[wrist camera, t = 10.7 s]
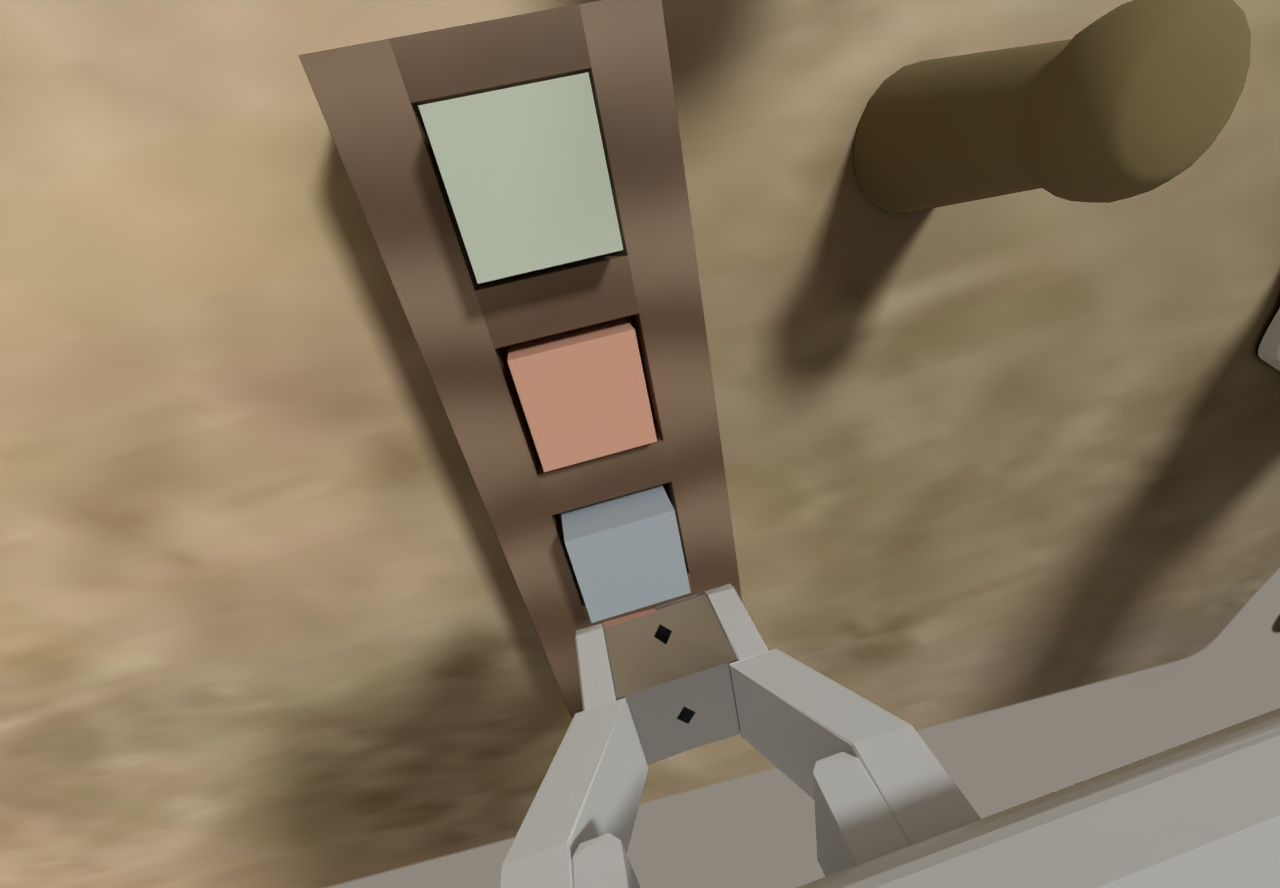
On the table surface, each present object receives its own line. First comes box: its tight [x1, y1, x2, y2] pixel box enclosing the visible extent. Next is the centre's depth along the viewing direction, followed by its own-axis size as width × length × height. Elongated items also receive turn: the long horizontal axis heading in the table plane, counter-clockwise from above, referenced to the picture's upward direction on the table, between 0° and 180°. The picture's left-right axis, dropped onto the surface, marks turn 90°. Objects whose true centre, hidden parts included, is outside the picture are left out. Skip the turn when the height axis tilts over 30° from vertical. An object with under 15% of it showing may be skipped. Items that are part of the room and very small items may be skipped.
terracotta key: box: [507, 317, 657, 472], centre depth 21 cm, size 5×5×2 cm
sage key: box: [418, 72, 623, 284], centre depth 17 cm, size 5×5×2 cm
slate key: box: [561, 484, 691, 623], centre depth 24 cm, size 5×5×2 cm
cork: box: [854, 0, 1251, 213], centre depth 18 cm, size 6×6×11 cm
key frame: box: [299, 0, 742, 719], centre depth 24 cm, size 33×11×4 cm, turn 11°
